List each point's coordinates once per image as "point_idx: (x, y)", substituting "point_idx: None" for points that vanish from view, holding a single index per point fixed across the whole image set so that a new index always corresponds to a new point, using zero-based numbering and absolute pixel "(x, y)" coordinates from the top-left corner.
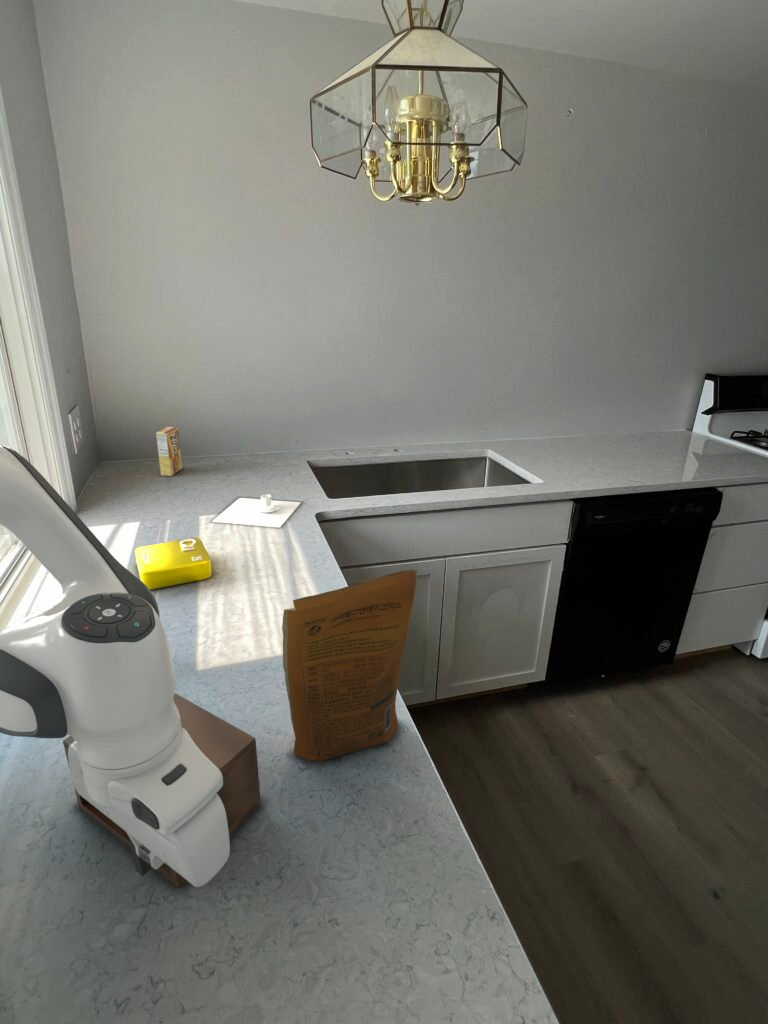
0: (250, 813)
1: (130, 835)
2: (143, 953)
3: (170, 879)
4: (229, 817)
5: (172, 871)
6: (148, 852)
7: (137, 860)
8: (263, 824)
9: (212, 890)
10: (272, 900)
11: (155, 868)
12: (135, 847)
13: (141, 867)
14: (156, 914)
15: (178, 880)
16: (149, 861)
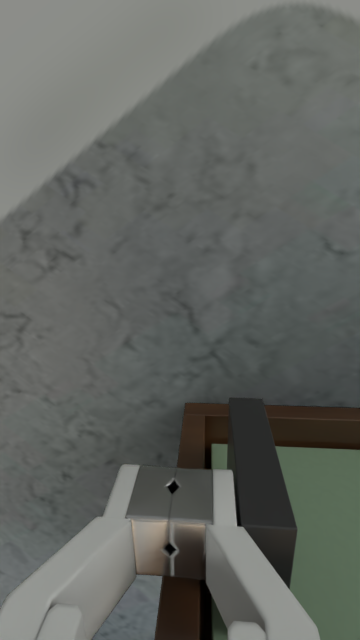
0: None
1: (253, 598)
2: (129, 278)
3: (211, 407)
4: None
5: (196, 431)
6: (146, 528)
7: (246, 438)
8: None
9: (123, 430)
10: (19, 466)
11: (120, 468)
12: (231, 512)
13: (231, 421)
14: (177, 344)
15: (183, 417)
16: (140, 487)
